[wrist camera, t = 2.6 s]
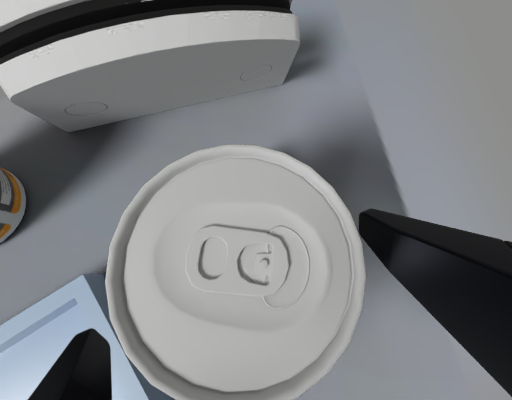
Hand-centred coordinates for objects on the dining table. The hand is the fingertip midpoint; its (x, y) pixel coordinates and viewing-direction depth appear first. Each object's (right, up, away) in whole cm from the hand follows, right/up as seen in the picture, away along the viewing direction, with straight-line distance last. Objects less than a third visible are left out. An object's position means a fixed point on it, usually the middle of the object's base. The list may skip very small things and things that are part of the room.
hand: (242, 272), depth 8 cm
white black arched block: (-5, +10, +11) cm, 16 cm away
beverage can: (-1, -2, +8) cm, 8 cm away
